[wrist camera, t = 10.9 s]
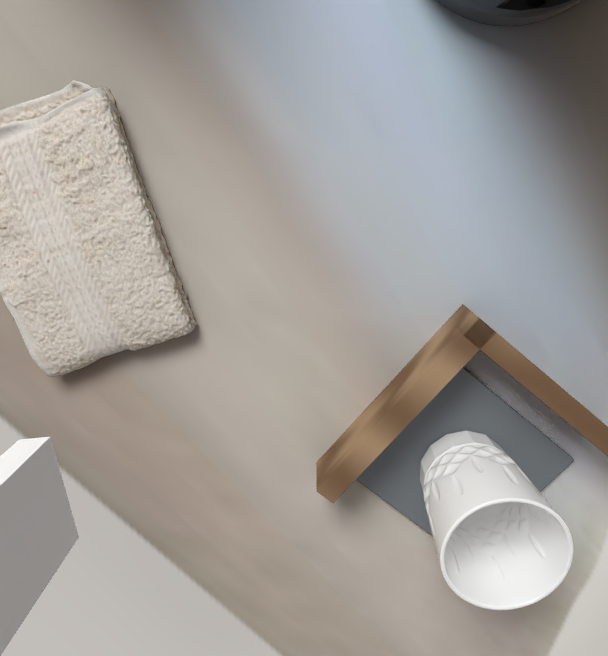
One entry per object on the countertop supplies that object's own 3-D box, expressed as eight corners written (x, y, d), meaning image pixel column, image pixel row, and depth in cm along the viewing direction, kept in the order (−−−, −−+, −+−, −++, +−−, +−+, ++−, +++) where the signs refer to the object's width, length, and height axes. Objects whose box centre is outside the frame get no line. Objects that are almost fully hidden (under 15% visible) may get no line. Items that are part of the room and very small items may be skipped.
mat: (459, 365, 40) (460, 366, 39) (572, 457, 41) (574, 459, 41) (353, 475, 42) (354, 477, 42) (464, 558, 44) (465, 560, 44)
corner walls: (462, 304, 38) (479, 318, 34) (602, 422, 41) (632, 447, 37) (316, 462, 42) (316, 491, 38) (451, 562, 44) (464, 599, 40)
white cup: (480, 527, 43) (528, 628, 33) (393, 489, 42) (416, 581, 32) (533, 448, 41) (600, 531, 31) (443, 406, 40) (483, 478, 30)
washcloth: (110, 75, 35) (91, 66, 32) (206, 326, 40) (197, 338, 37) (-50, 134, 36) (-83, 130, 33) (61, 371, 41) (41, 386, 38)
